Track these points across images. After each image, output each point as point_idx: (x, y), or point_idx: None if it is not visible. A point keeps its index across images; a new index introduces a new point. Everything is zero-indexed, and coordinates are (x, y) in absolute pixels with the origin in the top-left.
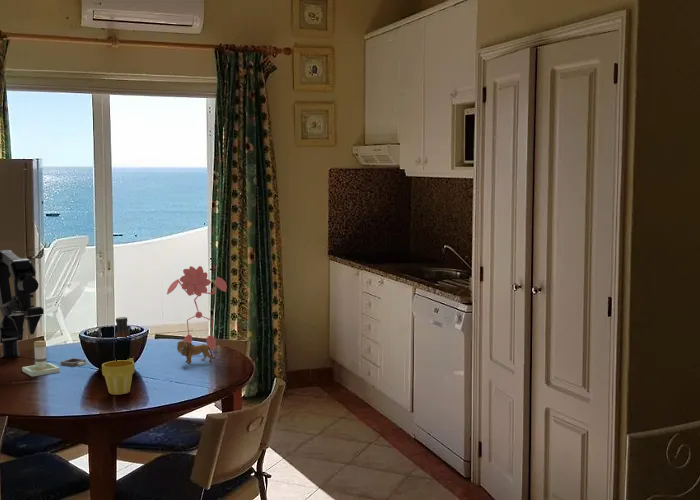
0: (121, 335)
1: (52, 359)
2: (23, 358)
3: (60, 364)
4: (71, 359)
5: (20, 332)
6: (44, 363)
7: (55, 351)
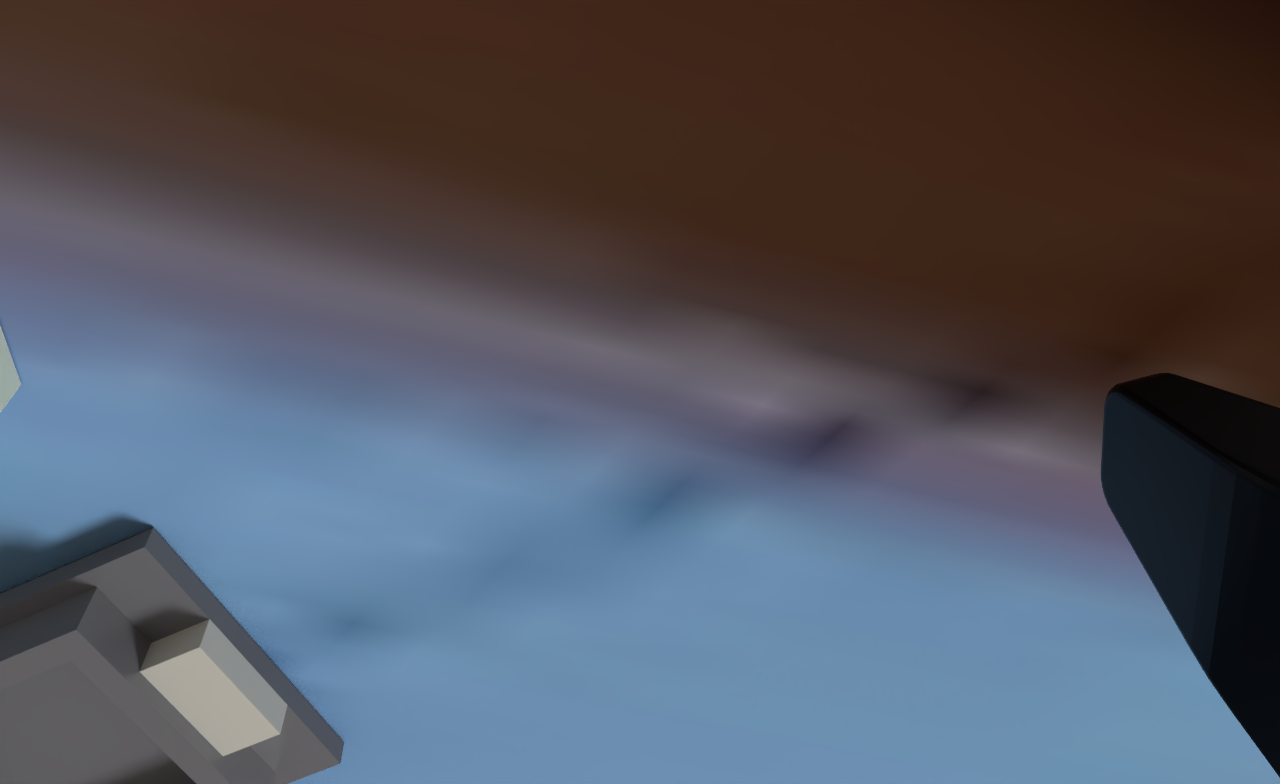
0: None
1: (751, 579)
2: (1270, 211)
3: (113, 581)
4: (197, 777)
5: (1126, 486)
6: None
7: None
